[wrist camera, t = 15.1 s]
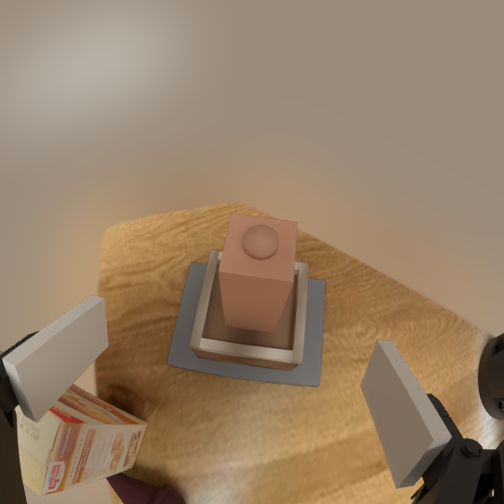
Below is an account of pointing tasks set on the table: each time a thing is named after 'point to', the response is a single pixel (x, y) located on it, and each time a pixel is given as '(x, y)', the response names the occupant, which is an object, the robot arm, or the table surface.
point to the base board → (186, 359)
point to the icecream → (141, 491)
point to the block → (257, 271)
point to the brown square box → (250, 341)
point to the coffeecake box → (76, 442)
